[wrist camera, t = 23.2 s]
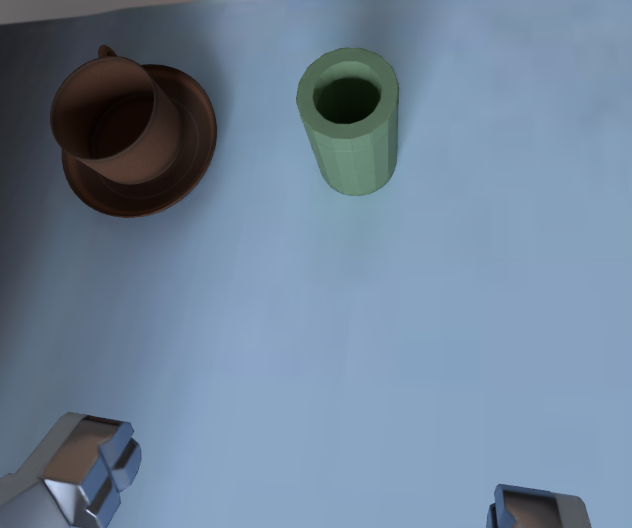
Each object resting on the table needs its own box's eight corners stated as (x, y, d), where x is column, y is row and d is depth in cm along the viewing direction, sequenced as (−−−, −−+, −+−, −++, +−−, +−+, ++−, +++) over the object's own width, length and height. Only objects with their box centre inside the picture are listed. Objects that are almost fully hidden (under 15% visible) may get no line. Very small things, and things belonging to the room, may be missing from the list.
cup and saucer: (54, 137, 37) (-10, 94, 31) (177, 51, 37) (136, -8, 31) (120, 256, 34) (63, 233, 28) (254, 162, 34) (225, 120, 28)
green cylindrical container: (399, 126, 33) (402, 47, 25) (392, 198, 32) (393, 141, 24) (324, 123, 34) (303, 46, 26) (315, 193, 33) (290, 137, 25)
